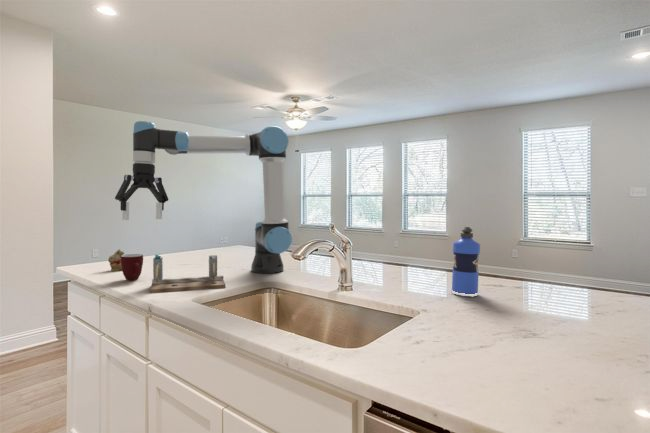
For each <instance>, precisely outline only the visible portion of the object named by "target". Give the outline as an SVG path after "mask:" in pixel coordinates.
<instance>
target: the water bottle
mask: <svg viewBox="0 0 650 433" xmlns="http://www.w3.org/2000/svg"><path fill="white" fill-rule="evenodd" d="M461 231H462V232H460V239H458V240H456V241H454V242H452V253H453V266H452V276H451V278H452V279H451V281H452V282H451V291H452V290H453V291H455V292H458V293H465V294H475V293H478V294H479V257H480V253H481V244H480V243H479V242H477V241H476V240H474V239H473V237H474V233H472V232H474V231H473V229H472V228H471V227H469V226H464V227H463V228H462V229H461Z"/></svg>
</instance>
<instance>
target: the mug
mask: <svg viewBox="0 0 650 433" xmlns="http://www.w3.org/2000/svg"><path fill="white" fill-rule="evenodd" d="M143 263H144V254H142V253H131V254H130V253H129V254H123V255H122V256H121V266H122V271H121V272H122V274H123V276H124V278H125V279H126V281H129V282H130V281H131V282H132V281H137V280H139V278H140V276H141V274H142V269H143V265H144V264H143Z"/></svg>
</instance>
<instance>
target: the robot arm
mask: <svg viewBox="0 0 650 433" xmlns="http://www.w3.org/2000/svg"><path fill="white" fill-rule="evenodd" d="M132 136H133V138H132V147H133V148H132V150H133V152H132V161H133V164H132V174H133V175H132V174H124V176H123V181H122V184H121V186H120V188H119V189H118V191H117V193H116V194H115V197H114V199H115V200H116V201H119V202H120V211H122V212H121V213H122V214H121V215H122V218H121V220H123V221H124V220H125V221H129V220H130V218H129V217H130V201H128V200H129V199H130V198H131V197H132V195H133V194H134V193H135V192H136V191H137V190H138V189H147V190H149V191H150V192H151V194H152V195H153V197H154V199H156V201H157V202H155V207H156V208H155V219H156V220H162V219H163V211H164V209H165V208H164V207H165V203H166V202H168V201H169V199H170V198H169V196H168V194H167V192H166V189H165V187H164V185H163V180H162V177H155V173H156V165H155V164H156V149H157V150H164V151H165V152H166V153H167V154H169V155H173V156H174V155H175V156H176V155H179V154H183V155H184V154H185V155H186V154H187V155H188V154H245V155H246V156H255V157H256V156H257V157H258V160H259V161H260V162H261V163H262V179H263V180H262V181H263V182H262V184H263V201H264V202H263V203H264V204H263V205H264V206H263V207H264V219H263V220H262V221H259V222H256V223H255V226H254V227H255V228H254V234H255V235H254V236H255V237H254V238H255V239H254V242H255V244H254V245H255V246H254V253H255V254H254V257H253V260H252V261H251V262H252V263H251V267H250V268H251V270H250V271H251V272H253V273H257V274H274V273H275V272H277V273H281V272H283V271H284V264H283V263H284V262H283V260H282V257H281V256H282V255H281V254H283V253H285V252H286V251H288V250H289V249H290V247H291V245H292V243H293V238H292V237H293V236H292V234H291V231H290V230H289V220H288V219H286V217H285V193H284V192H285V188H284V168H283V166H284V165H283V163H284V162H285V161H286V159H287V154H286V152H287V151H286V150H287V148H288V145H289V136H288V134H287V132H286V131H285V129H283V128H281V127H279V126H276V125H271V126H266V127H264V128H263V129H262V130H261V131H259V132H256V133H246V134H245V135H244V136H241V135H240V136H239V135H238V136H237V135H236V136H235V135H234V136H233V135H229V136H228V135H220V136H219V135H189V132H186V131H181V130H169V129H161V128H157V126H156V123H154V122H152V121H151V122H150V121H145V120H144V121H142V120H138V121H135V122H134V124H133V133H132ZM132 181H133V183H132V184H131V182H132ZM154 183H155V184H154ZM129 186H130V187H129ZM280 271H281V272H280Z"/></svg>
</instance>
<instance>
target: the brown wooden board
mask: <svg viewBox="0 0 650 433" xmlns="http://www.w3.org/2000/svg"><path fill="white" fill-rule="evenodd" d="M222 288H223V289H225V288H226V283H225V280H224V275H217V276H215V279H213V277H209V275H208V276H193V277H192V276H191V277H176V278H175V277H174V278H162V280H158V282H156V280H153V279H152V280H151V286H150V289H149V293H150V294H151V293H152V292H154V293H165V292H167V293H168V292H178V291H180V292H181V291H182V292H183V291H193V290H207V289H208V290H212V289H222Z"/></svg>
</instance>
